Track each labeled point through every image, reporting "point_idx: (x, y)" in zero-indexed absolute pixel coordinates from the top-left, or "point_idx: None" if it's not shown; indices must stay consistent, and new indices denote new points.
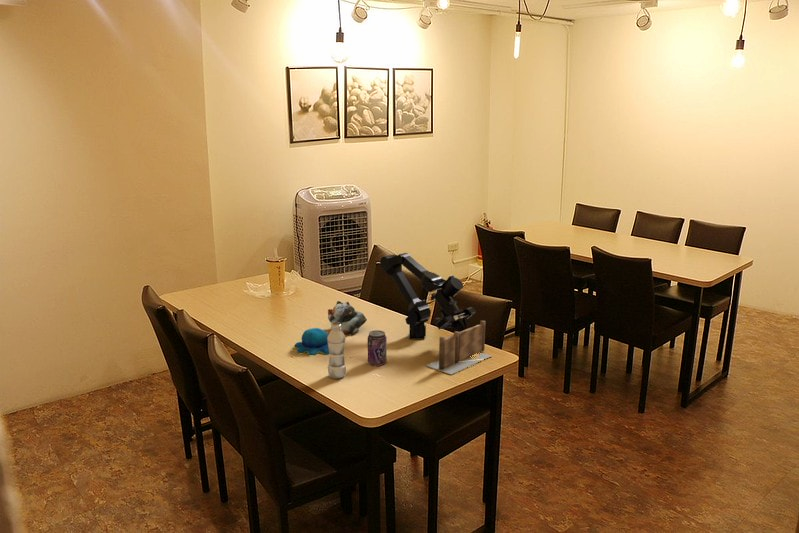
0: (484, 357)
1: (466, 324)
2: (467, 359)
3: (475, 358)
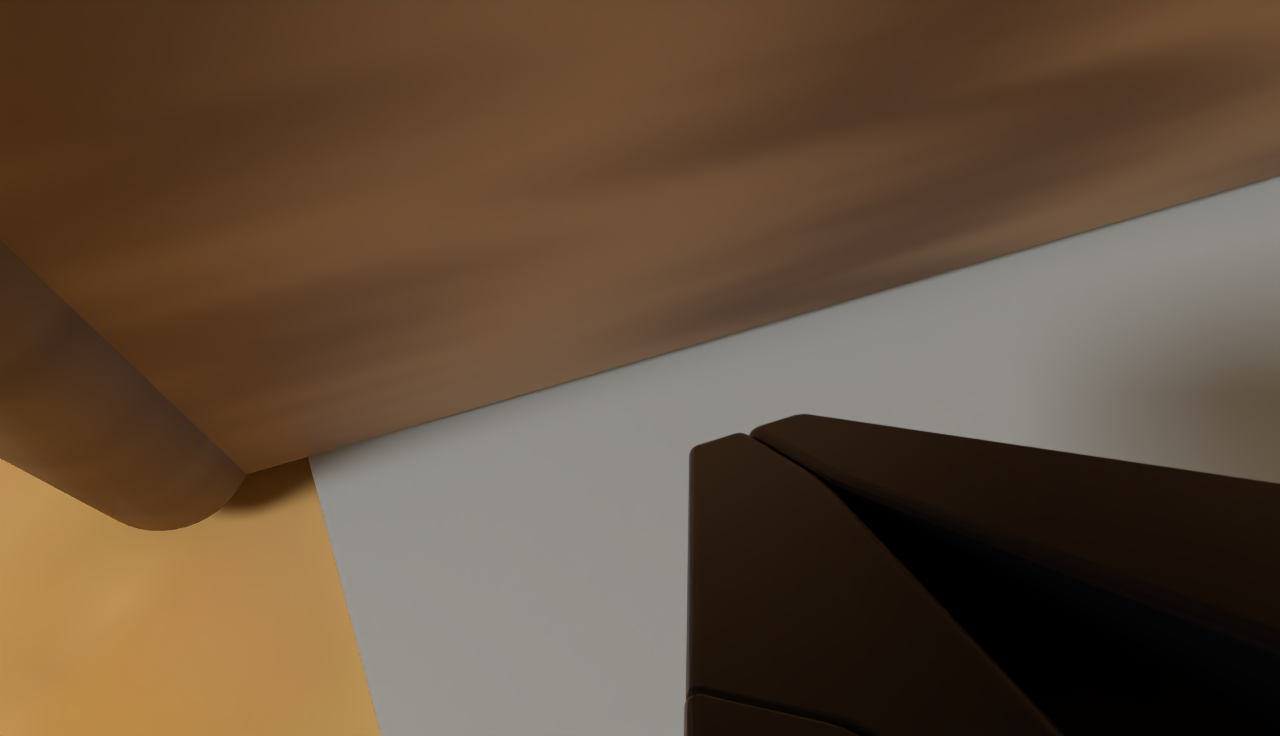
0: None
1: (903, 727)
2: None
3: None
